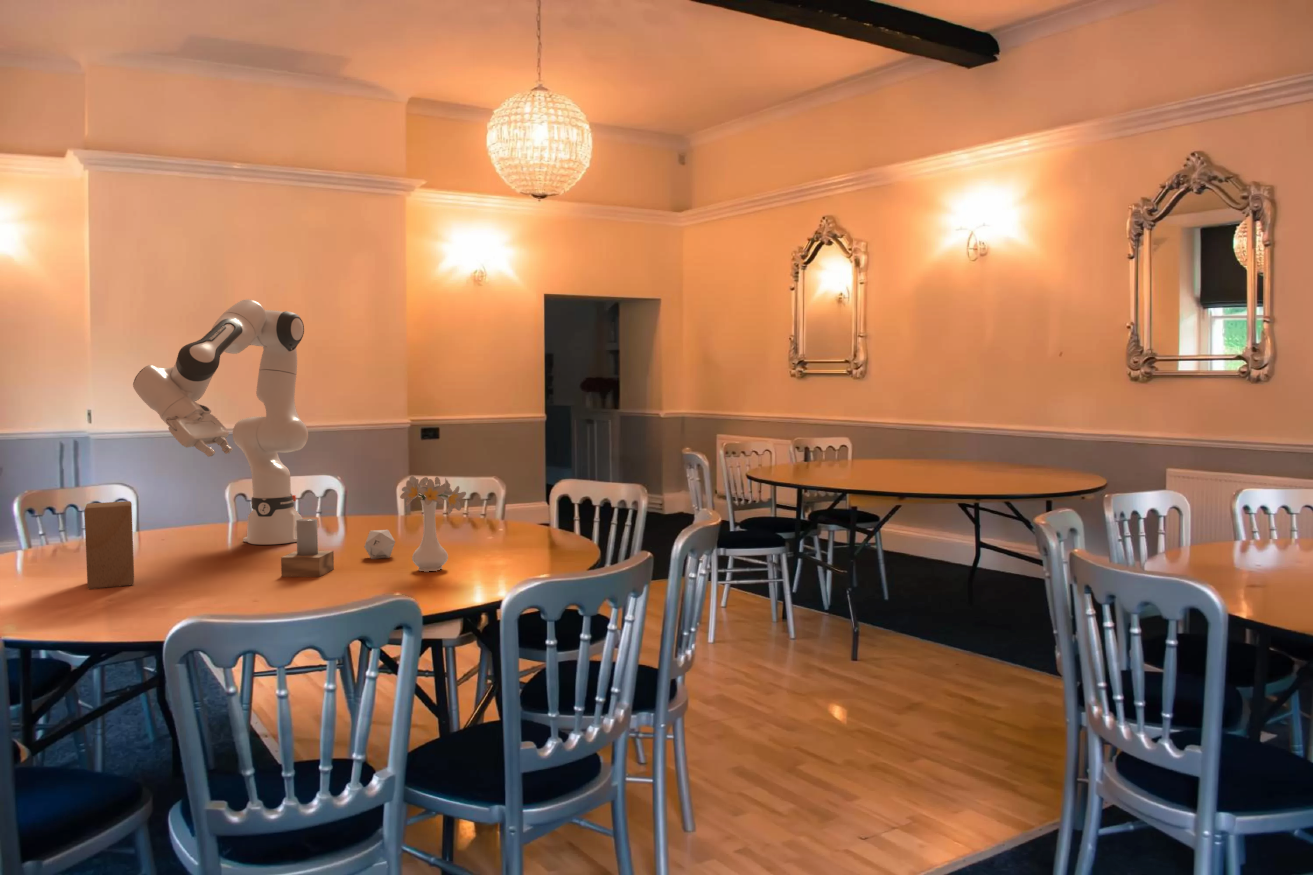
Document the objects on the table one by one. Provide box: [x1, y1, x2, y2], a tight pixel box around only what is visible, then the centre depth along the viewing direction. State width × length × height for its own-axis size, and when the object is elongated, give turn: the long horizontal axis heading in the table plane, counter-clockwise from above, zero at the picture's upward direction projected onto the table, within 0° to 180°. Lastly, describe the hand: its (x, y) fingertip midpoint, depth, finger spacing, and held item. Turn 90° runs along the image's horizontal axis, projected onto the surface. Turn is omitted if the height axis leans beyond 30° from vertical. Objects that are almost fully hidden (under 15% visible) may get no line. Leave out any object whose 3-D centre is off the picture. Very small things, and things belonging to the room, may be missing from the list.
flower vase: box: [399, 475, 467, 573], centre depth 262 cm, size 13×18×25 cm
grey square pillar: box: [296, 518, 319, 556], centre depth 259 cm, size 5×5×9 cm
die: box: [364, 529, 396, 560], centre depth 280 cm, size 8×9×10 cm
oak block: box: [280, 550, 335, 578], centre depth 259 cm, size 10×10×5 cm
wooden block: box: [84, 500, 135, 590], centre depth 245 cm, size 10×10×20 cm
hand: (221, 453), depth 260 cm, fingers open, 8 cm apart
